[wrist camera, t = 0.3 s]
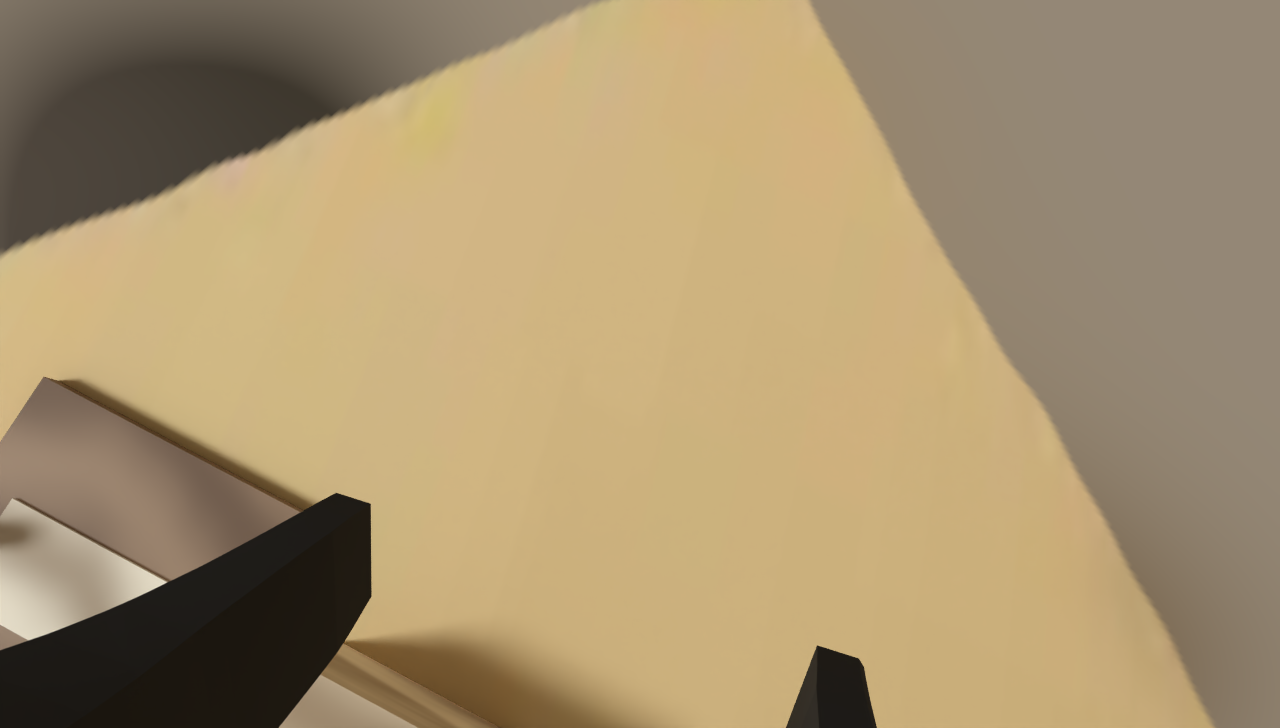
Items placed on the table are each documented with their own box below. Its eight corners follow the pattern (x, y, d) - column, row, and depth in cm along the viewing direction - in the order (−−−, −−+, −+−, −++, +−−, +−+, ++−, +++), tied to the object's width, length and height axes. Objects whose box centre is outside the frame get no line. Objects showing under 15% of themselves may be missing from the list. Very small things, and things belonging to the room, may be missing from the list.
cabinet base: (149, 847, 38) (79, 894, 33) (-143, 681, 39) (-252, 702, 34) (333, 526, 41) (293, 524, 36) (57, 380, 42) (-18, 359, 37)
